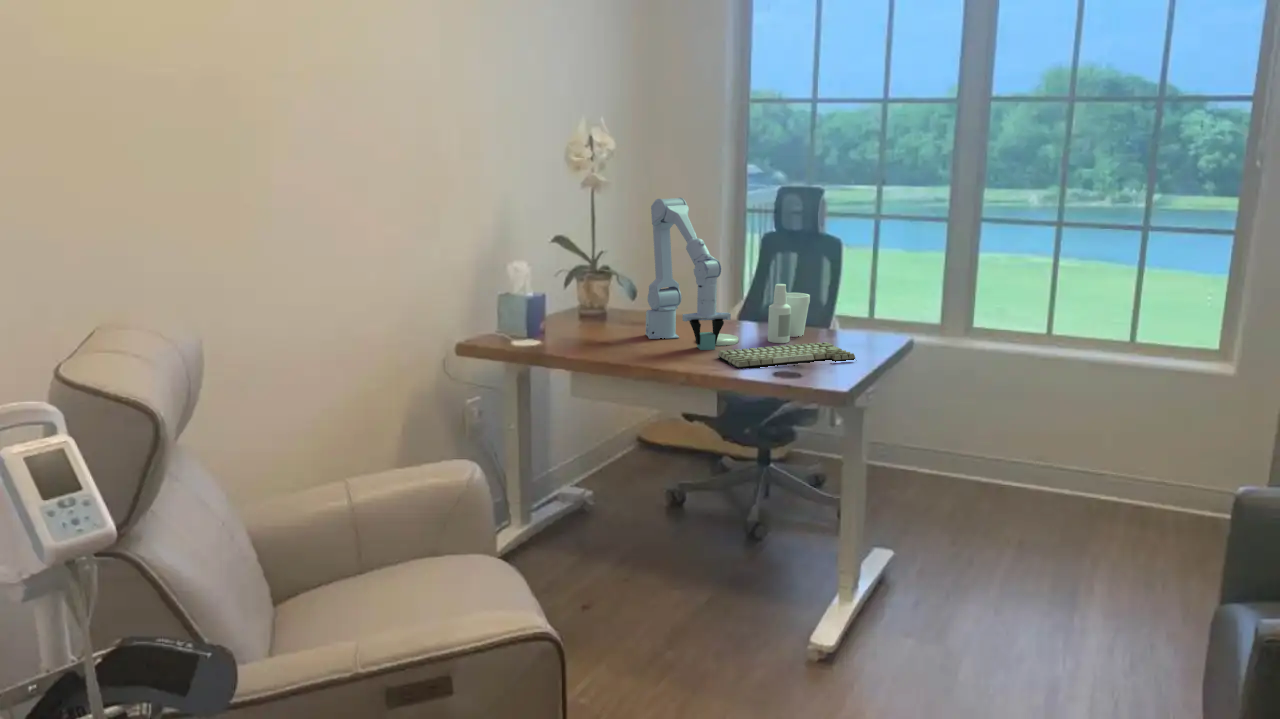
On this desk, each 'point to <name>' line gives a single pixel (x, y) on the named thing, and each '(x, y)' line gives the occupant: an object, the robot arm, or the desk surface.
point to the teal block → (707, 341)
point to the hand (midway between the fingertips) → (706, 343)
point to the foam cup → (798, 312)
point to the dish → (726, 340)
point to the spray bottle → (779, 316)
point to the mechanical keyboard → (783, 355)
